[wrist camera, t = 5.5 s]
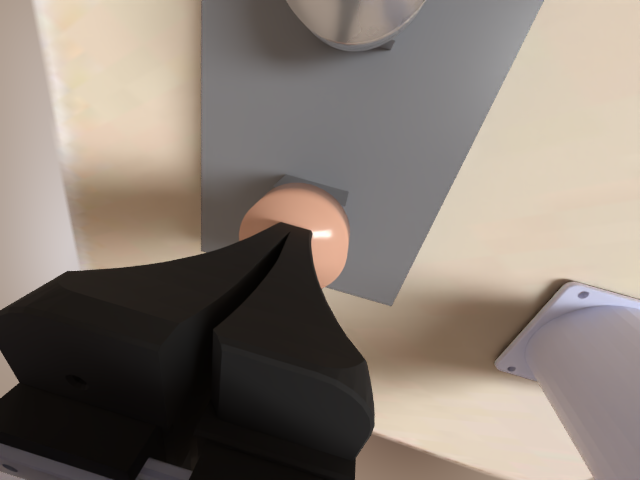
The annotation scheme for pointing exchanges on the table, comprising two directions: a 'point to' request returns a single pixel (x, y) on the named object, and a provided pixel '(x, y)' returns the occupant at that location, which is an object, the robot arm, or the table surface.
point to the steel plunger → (356, 20)
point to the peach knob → (305, 223)
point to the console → (349, 121)
